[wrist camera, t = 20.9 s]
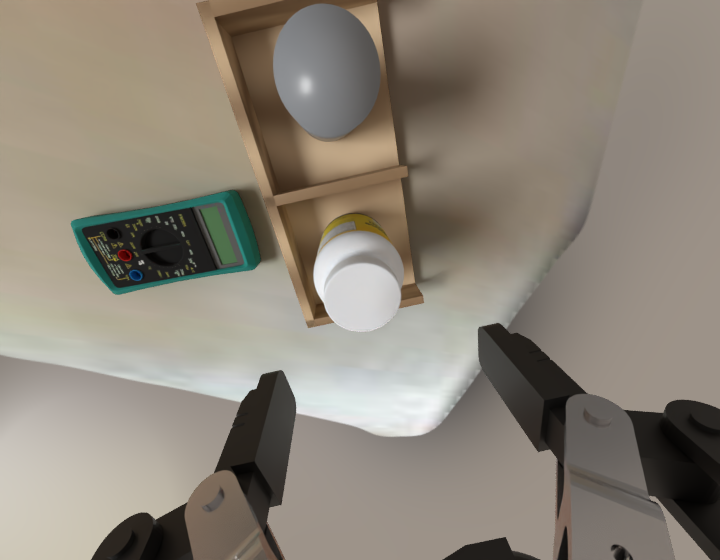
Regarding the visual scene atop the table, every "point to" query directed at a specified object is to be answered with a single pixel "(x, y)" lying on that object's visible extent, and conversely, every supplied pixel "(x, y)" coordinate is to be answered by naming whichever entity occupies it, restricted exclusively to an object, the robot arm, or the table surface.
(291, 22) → the grey cylinder
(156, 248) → the digital multimeter
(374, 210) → the divided wooden tray
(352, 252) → the pill bottle
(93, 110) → the table surface
